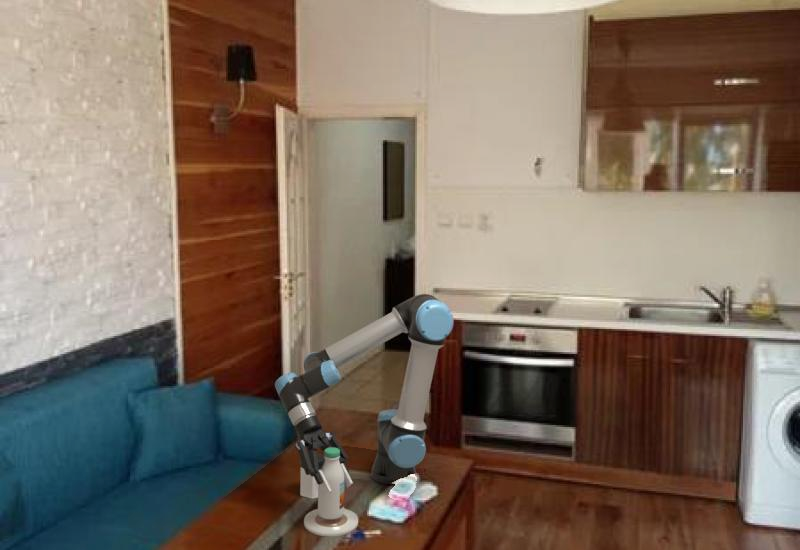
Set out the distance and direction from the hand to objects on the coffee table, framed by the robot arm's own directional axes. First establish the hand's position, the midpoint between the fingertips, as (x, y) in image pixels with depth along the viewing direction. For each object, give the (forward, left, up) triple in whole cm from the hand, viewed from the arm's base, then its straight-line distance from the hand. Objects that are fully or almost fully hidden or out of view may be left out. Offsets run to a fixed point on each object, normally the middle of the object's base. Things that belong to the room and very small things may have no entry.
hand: (339, 489), depth 223 cm
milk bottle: (+2, -3, -9) cm, 10 cm away
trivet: (+2, -3, -12) cm, 12 cm away
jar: (+6, -24, -12) cm, 27 cm away
